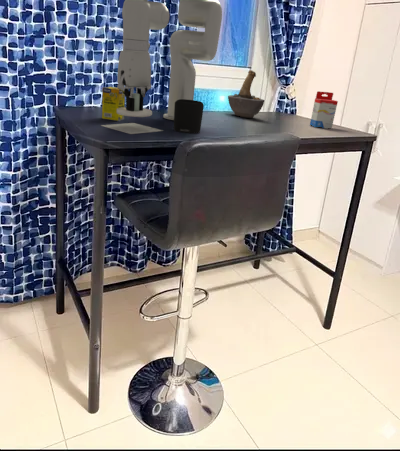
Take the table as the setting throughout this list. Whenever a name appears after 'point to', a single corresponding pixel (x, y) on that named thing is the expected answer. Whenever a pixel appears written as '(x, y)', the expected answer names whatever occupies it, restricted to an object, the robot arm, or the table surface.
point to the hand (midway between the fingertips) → (134, 109)
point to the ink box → (323, 110)
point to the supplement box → (112, 103)
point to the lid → (135, 109)
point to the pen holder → (188, 116)
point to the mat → (131, 128)
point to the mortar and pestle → (246, 99)
